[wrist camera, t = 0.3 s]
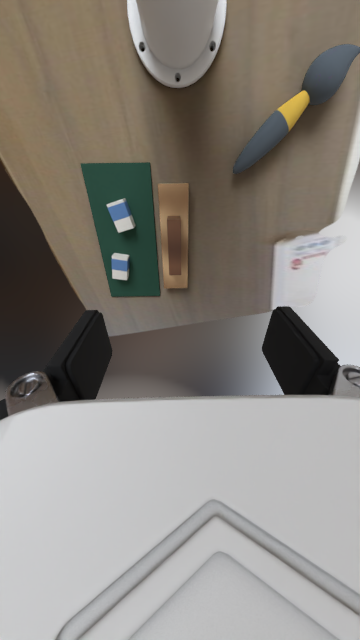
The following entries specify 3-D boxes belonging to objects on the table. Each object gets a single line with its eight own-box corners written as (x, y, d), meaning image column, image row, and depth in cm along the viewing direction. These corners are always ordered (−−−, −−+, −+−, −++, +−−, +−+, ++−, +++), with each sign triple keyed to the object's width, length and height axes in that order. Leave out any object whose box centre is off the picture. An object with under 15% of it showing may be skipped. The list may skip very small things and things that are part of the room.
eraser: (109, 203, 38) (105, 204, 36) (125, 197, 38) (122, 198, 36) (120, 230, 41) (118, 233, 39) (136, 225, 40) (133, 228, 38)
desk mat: (81, 163, 35) (80, 163, 35) (150, 162, 35) (149, 162, 35) (111, 295, 50) (111, 296, 49) (160, 295, 50) (160, 295, 50)
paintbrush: (244, 189, 37) (253, 190, 33) (226, 167, 36) (233, 165, 31) (352, 66, 29) (381, 47, 25) (336, 28, 27) (365, 1, 23)
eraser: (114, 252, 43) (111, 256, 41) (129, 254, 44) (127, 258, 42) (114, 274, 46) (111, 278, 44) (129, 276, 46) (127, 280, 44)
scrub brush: (158, 183, 37) (155, 184, 31) (188, 183, 37) (190, 183, 31) (164, 283, 48) (163, 297, 42) (187, 283, 48) (188, 297, 42)
